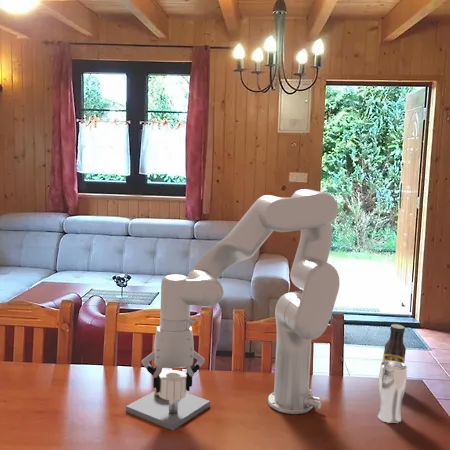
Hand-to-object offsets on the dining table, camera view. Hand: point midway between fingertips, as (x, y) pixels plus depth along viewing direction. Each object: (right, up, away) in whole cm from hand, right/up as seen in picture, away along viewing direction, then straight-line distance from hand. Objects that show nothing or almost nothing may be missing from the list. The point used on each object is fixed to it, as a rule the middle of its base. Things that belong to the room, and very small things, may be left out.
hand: (172, 389), depth 138 cm
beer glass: (+58, -10, +5) cm, 59 cm away
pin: (0, -6, +1) cm, 6 cm away
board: (-2, -7, +6) cm, 9 cm away
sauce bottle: (+64, -7, +22) cm, 68 cm away
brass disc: (-3, -5, +11) cm, 12 cm away
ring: (0, -1, 0) cm, 1 cm away
